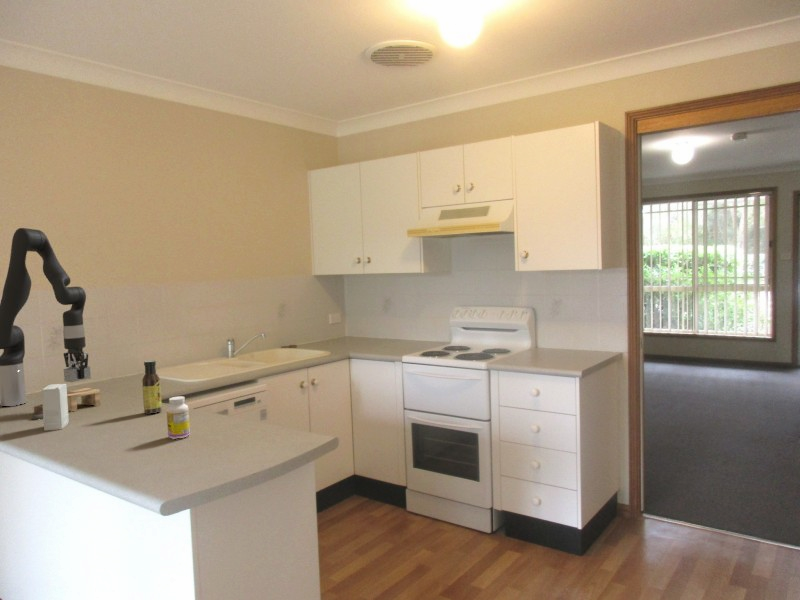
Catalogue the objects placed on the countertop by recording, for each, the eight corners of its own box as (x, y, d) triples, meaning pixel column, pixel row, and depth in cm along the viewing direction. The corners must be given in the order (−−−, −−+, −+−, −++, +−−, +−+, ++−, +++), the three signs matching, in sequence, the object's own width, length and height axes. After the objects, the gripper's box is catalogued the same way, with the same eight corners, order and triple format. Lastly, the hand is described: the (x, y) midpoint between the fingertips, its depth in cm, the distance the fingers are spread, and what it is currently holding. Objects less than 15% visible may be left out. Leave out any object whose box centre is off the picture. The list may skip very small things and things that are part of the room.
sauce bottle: (162, 413, 223) (159, 361, 222) (144, 415, 220) (141, 363, 219) (161, 409, 229) (158, 359, 228) (143, 412, 226) (140, 360, 225)
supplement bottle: (168, 435, 193) (166, 397, 192) (189, 432, 195) (187, 394, 194) (168, 441, 186) (165, 401, 186) (190, 438, 189) (187, 398, 188)
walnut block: (34, 417, 225) (33, 406, 225) (43, 414, 229) (42, 404, 229) (43, 417, 224) (42, 407, 224) (51, 414, 228) (50, 404, 228)
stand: (57, 409, 236) (56, 393, 235) (86, 402, 246) (85, 387, 246) (71, 412, 231) (70, 396, 230) (100, 405, 241) (99, 389, 240)
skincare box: (51, 425, 212) (48, 384, 211) (70, 423, 213) (67, 382, 213) (43, 431, 204) (40, 389, 203) (62, 429, 205) (59, 387, 204)
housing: (84, 377, 242) (83, 365, 242) (90, 378, 240) (89, 366, 239) (64, 381, 236) (63, 369, 235) (71, 382, 233) (70, 369, 233)
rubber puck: (30, 419, 222) (30, 415, 222) (41, 417, 225) (41, 413, 225) (35, 421, 220) (35, 417, 220) (47, 418, 223) (46, 414, 223)
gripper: (93, 335, 236) (96, 377, 237) (73, 334, 243) (76, 375, 245) (75, 338, 230) (78, 381, 231) (55, 337, 237) (58, 378, 238)
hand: (77, 378), depth 238 cm, fingers closed on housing, 4 cm apart
